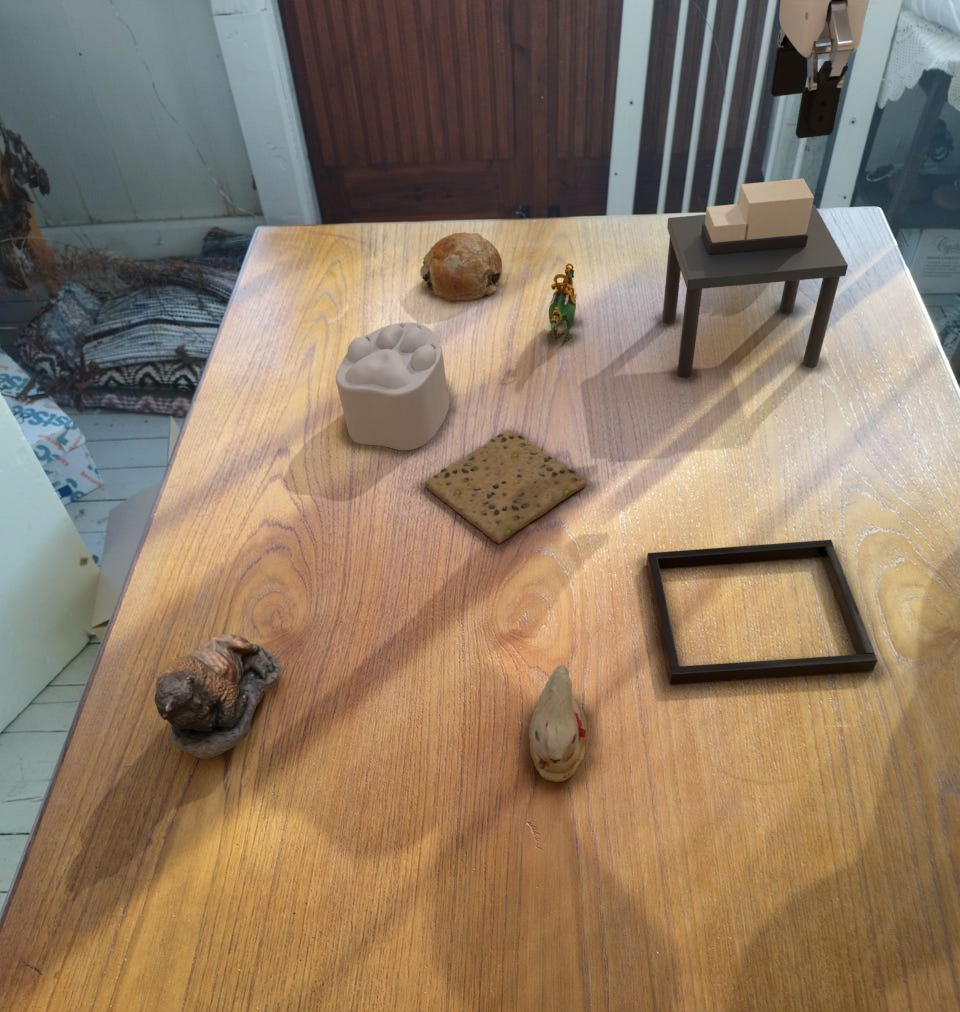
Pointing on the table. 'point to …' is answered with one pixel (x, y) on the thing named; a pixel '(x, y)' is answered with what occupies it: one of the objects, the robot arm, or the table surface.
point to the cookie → (504, 485)
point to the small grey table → (749, 278)
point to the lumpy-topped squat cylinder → (394, 387)
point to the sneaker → (760, 218)
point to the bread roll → (462, 267)
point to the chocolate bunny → (557, 729)
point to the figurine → (563, 302)
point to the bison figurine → (214, 693)
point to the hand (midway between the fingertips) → (799, 113)
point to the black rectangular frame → (769, 668)
